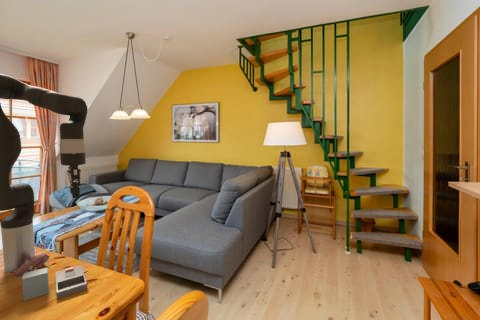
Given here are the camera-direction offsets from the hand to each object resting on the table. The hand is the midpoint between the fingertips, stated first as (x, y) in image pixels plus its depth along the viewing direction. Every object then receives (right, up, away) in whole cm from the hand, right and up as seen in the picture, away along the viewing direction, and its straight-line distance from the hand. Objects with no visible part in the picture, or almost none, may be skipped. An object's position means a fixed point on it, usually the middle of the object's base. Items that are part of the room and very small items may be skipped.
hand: (75, 195), depth 89 cm
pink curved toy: (-19, -30, +5) cm, 36 cm away
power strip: (+3, -31, -6) cm, 31 cm away
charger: (-4, -31, -12) cm, 34 cm away
